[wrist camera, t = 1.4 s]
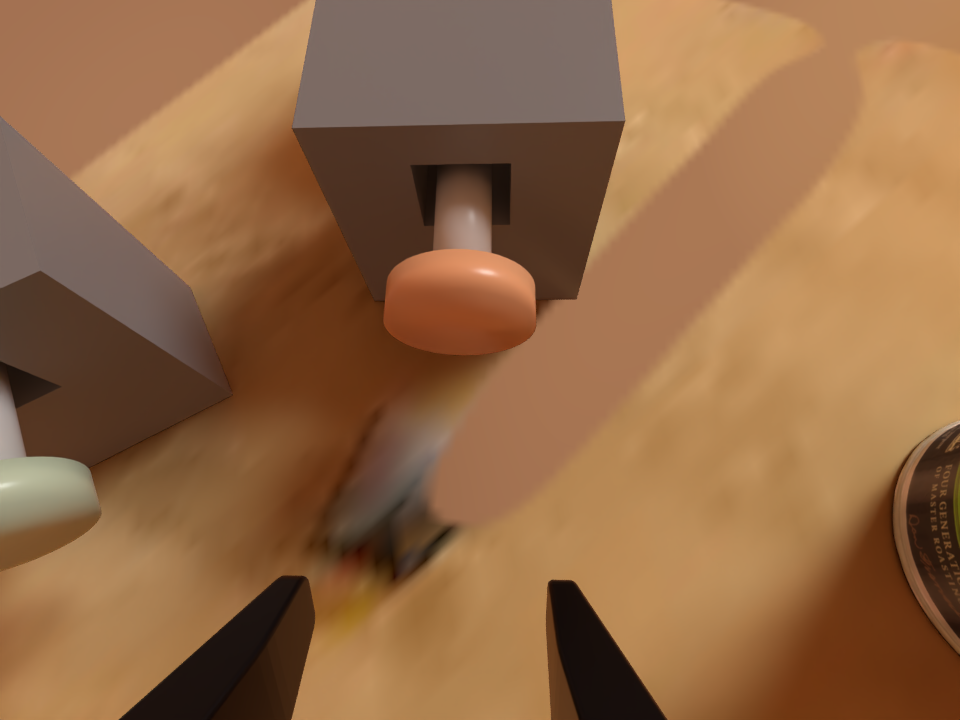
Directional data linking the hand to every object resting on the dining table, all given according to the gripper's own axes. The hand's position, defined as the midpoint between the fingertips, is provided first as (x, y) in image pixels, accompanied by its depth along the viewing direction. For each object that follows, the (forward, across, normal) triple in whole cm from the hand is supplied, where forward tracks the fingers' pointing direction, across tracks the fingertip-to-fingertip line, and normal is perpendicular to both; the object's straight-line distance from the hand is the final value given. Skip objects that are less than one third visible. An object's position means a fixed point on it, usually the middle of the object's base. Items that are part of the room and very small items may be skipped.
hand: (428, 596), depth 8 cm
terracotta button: (+12, 0, -2) cm, 12 cm away
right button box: (+18, 0, -2) cm, 19 cm away
